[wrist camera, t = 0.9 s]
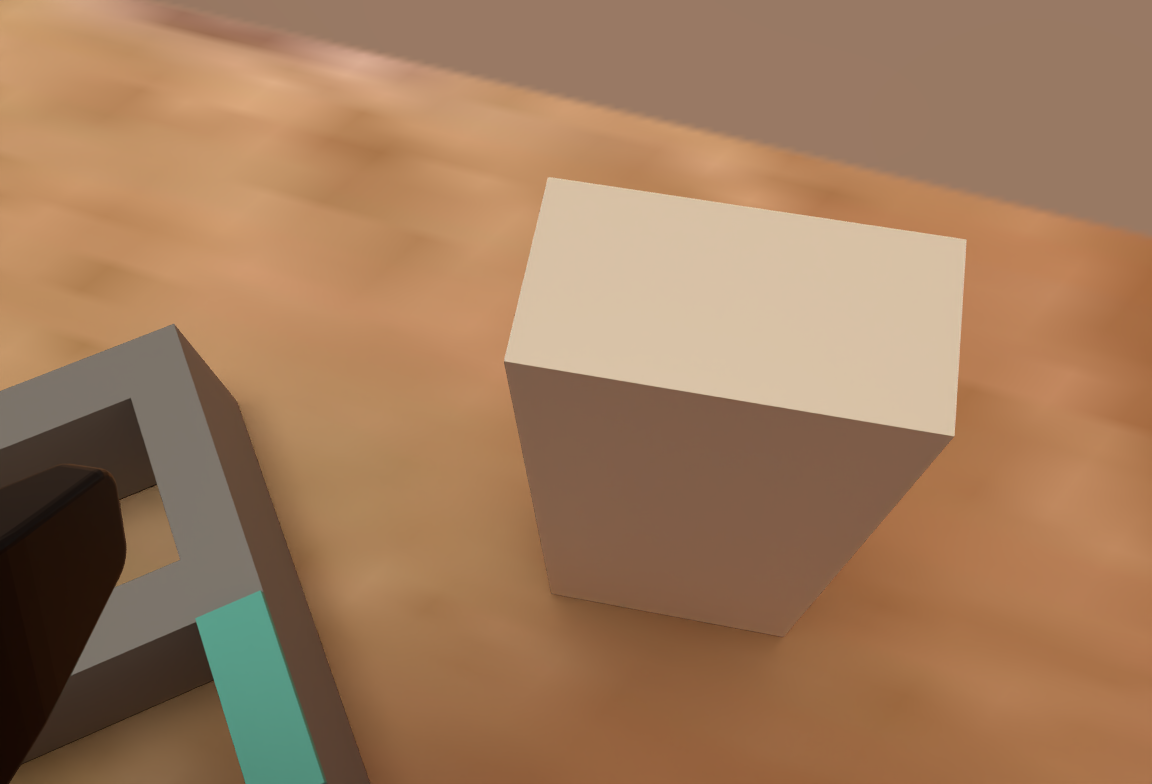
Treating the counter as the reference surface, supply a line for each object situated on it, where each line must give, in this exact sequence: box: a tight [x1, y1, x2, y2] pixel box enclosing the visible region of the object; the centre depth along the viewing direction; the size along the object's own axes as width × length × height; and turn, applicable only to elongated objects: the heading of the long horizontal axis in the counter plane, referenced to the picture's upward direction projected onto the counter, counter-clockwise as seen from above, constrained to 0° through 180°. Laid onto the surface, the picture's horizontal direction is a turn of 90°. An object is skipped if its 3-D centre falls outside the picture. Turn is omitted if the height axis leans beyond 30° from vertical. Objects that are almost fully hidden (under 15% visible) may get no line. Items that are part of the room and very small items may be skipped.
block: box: [504, 177, 966, 637], centre depth 18 cm, size 2×5×12 cm, turn 79°
